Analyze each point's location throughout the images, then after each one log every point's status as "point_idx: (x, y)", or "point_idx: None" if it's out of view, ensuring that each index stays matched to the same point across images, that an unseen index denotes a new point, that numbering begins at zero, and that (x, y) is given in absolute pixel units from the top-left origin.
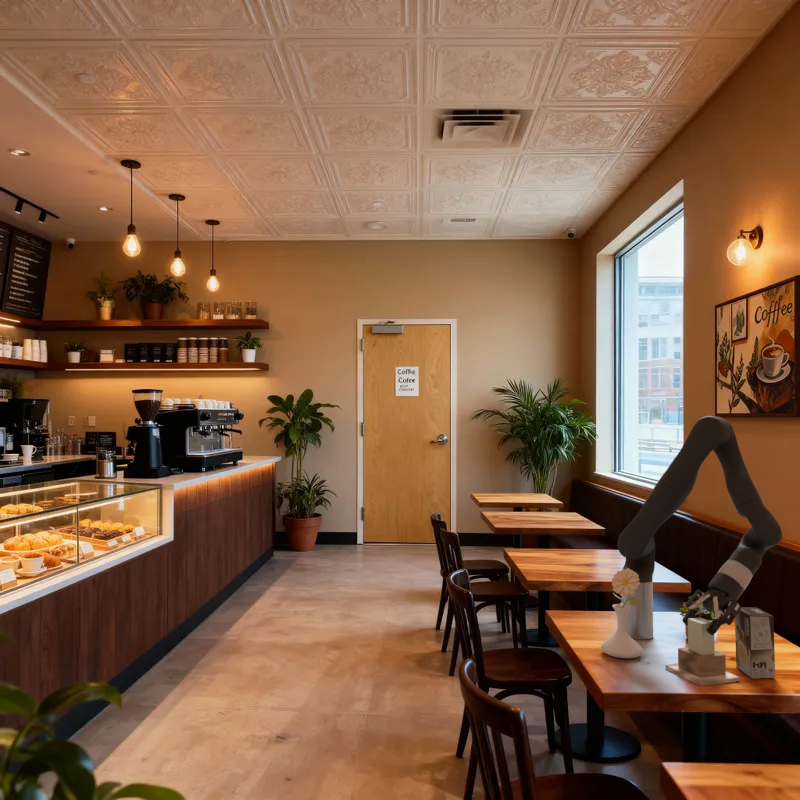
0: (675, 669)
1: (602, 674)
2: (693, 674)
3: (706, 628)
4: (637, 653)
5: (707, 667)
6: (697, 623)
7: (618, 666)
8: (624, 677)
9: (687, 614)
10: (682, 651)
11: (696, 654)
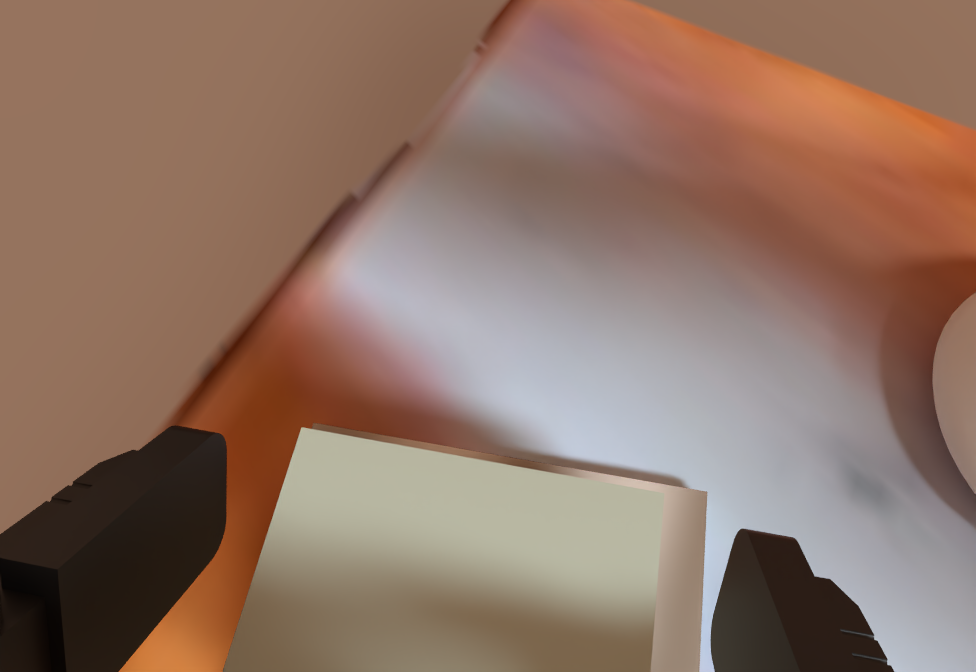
0: (594, 476)
1: (754, 93)
2: None
3: (214, 436)
4: (951, 418)
5: None
6: (406, 452)
7: (849, 249)
8: (668, 154)
9: (809, 626)
10: None
11: None
